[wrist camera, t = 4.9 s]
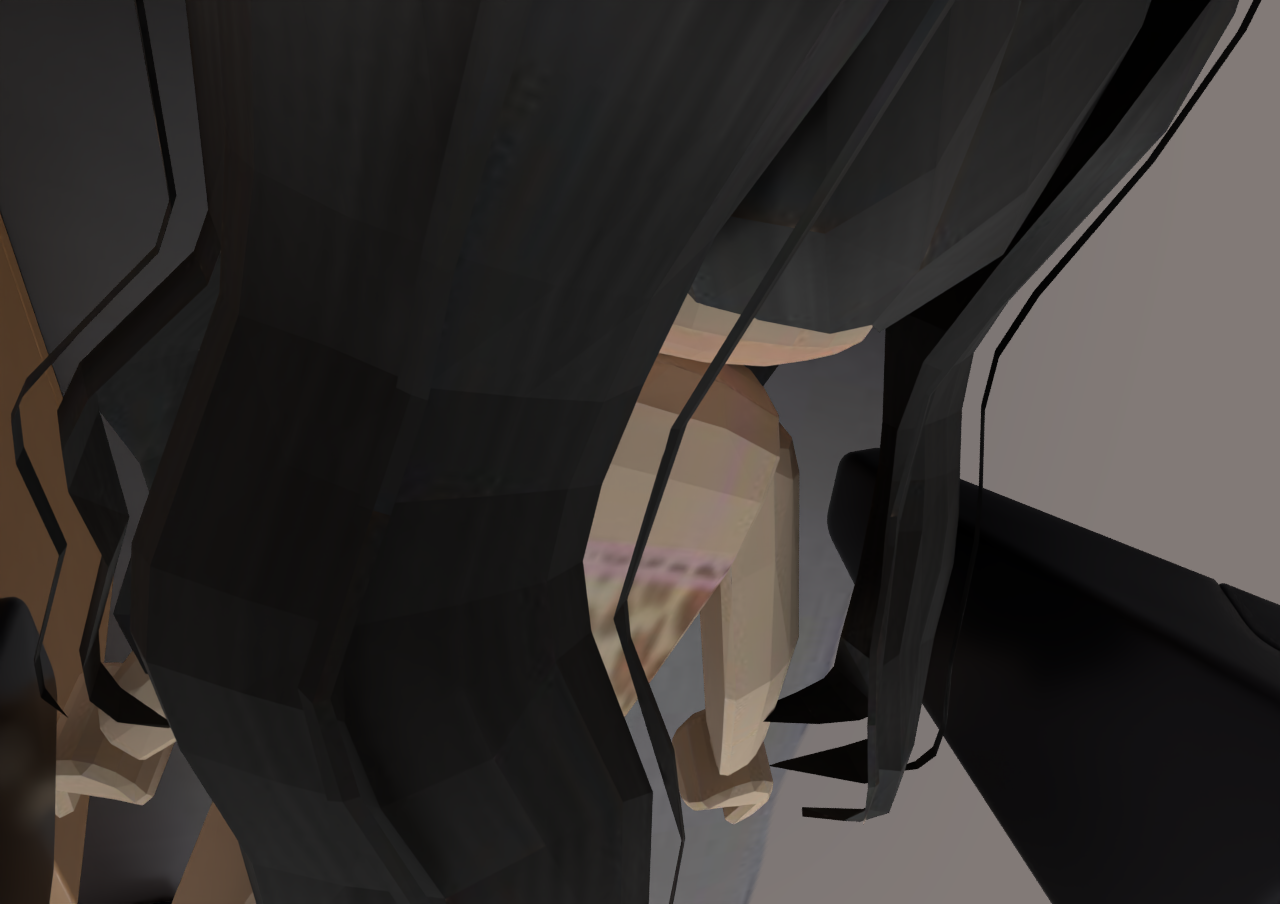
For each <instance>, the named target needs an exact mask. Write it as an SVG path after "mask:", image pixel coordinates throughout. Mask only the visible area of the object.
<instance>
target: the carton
mask: <svg viewBox="0 0 1280 904" xmlns="http://www.w3.org/2000/svg"><path fill="white" fill-rule="evenodd" d="M47 357H48V353H47V350H46V347H45V344H44V341H43V338H42V335H41V332H40V329H39V326H38V323H37V320H36V317H35V314H34V311H33V308H32V305H31V302H30V299H29V297H28V294H27V291H26V288H25V285H24V282H23V279H22V276H21V273H20V270H19V267H18V264H17V261H16V258H15V255H14V252H13V249H12V246H11V243H10V240H9V237H8V234H7V231H6V228H5V226H4V223H3V220H2V217H1V214H0V598H5V597H17V598H19V599H22V600H23V601H24V602H25V604H26V605H27V606H28V608H29V610H30V612H31V615H32V617H33V620H34V622H35V625H36V627H37V630H38V632H39V635H40V632H41V627H42V623H43V619H44V615H45V611H46V607H47V603H48V598H49V594H50V590H51V586H52V582H53V578H54V574H55V569H56V565H57V561H58V557H59V555H58V553H57V551H56V548H55V546H54V544H53V542H52V540H51V538H50V536H49V534H48V531H47V529H46V527H45V525H44V523H43V521H42V519H41V517H40V514H39V512H38V510H37V508H36V506H35V504H34V502H33V500H32V498H31V495H30V493H29V491H28V489H27V487H26V485H25V483H24V481H23V478H22V476H21V474H20V472H19V470H18V468H17V466H16V462H15V453H14V444H13V435H12V426H11V412H12V410H13V408H14V406H15V403H16V401H17V399H18V396H19V394H20V392H21V389H22V387H23V385H24V383H25V380H26V378H27V377H28V376H29V375H30V374H31V373H32V372H33V371H34V370H35V369H36V368H37V367H38V366H39V365H40V364H41V363H42V362H43V361H44V360H45V359H46V358H47ZM62 399H63V397H62V394H61V391H60V388H59V385H58V382H57V379H56V376H55V373H54V370H53V367H52V365H50V367H49V368H48V369H47V370H46V371H45V372H44V373H43V374H42V376H41V377H40V378H39V379H38V380H37V381H36V382H35V383H34V385H33V386H32V387H31V388H30V389H29V390H28V391H27V393H26V394H25V395H24V396H23V398H22V400H21V402H20V405H19V409H20V417H21V426H22V434H23V443H24V448H25V450H26V452H27V454H28V457H29V459H30V461H31V463H32V466H33V468H34V470H35V472H36V475H37V477H38V479H39V481H40V484H41V486H42V488H43V490H44V493H45V495H46V497H47V499H48V502H49V504H50V506H51V508H52V511H53V513H54V515H55V517H56V520H57V522H58V524H59V526H60V529H61V531H62V533H63V535H64V538H65V540H66V542H67V548H66V552H65V556H64V560H63V564H62V568H61V572H60V576H59V580H58V584H57V588H56V592H55V596H54V600H53V603H52V607H51V611H50V615H49V619H48V623H47V627H46V631H45V635H44V639H43V645H44V647H45V650H46V652H47V655H48V657H49V660H50V663H51V665H52V668H53V671H54V675H55V680H56V687H57V704H58V705H59V706H60V708H61V709H62V710H63V709H64V707H65V705H66V703H67V701H68V699H69V696H70V694H71V692H72V690H73V688H74V686H75V683H76V681H77V679H78V677H79V675H80V674H82V673H83V669H82V664H81V659H80V653H79V648H80V644H81V639H82V635H83V631H84V627H85V623H86V619H87V614H88V610H89V606H90V602H91V598H92V594H93V589H94V585H95V581H96V577H97V573H98V568H99V564H100V560H101V556H102V555H101V553H100V551H99V549H98V547H97V546H96V544H95V542H94V540H93V538H92V536H91V534H90V532H89V530H88V529H87V527H86V525H85V523H84V521H83V519H82V517H81V515H80V514H79V512H78V510H77V508H76V506H75V504H74V502H73V500H72V499H71V497H70V495H69V493H68V489H67V482H66V476H65V469H64V463H63V457H62V449H61V441H60V433H59V424H58V416H57V410H58V408H59V406H60V403H61V401H62ZM113 577H114V576H113ZM112 586H113V580H112V583H111V587H110V591H109V595H108V598H107V602H106V606H105V610H104V613H103V617H102V621H101V625H100V628H99V642H100V658H101V662H102V663H104V659H105V649H106V640H107V631H108V622H109V613H110V604H111V595H112ZM61 714H62V713H61V712H59V711H58V710H57V723H58V720H59V718H60V716H61ZM88 804H89V795H83V794H81V795H80V797H79V800H78V802H77V805H76V807H75V809H74V811H73V812H71V813H69V814H67V815H65V816H63V817H61V818H59V817H58V816H57V815H55V845H54V870H53V879H52V887H51V896H50V904H77V903H78V895H79V886H80V877H81V868H82V859H83V850H84V841H85V832H86V822H87V813H88Z"/></svg>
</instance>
